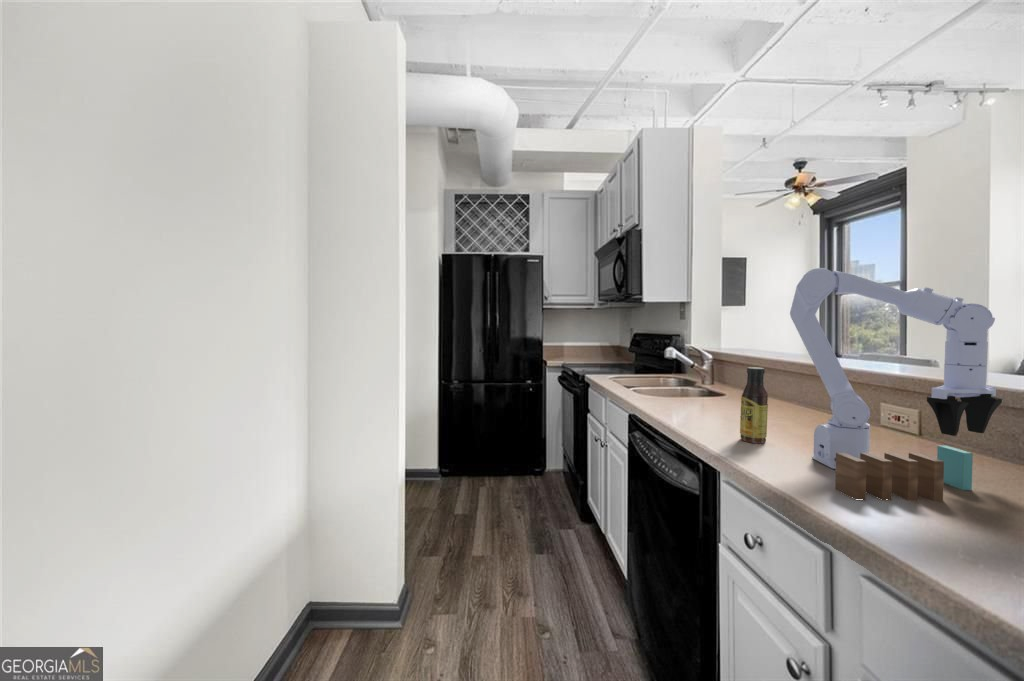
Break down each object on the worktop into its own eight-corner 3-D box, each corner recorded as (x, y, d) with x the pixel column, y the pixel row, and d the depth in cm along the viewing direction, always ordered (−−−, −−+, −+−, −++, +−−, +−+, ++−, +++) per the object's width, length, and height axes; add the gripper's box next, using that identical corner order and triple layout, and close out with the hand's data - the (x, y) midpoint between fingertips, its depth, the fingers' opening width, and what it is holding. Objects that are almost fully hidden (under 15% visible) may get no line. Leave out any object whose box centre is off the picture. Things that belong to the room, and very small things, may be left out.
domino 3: (907, 500, 75) (908, 461, 74) (883, 489, 80) (884, 452, 80) (917, 500, 75) (918, 461, 74) (892, 489, 80) (893, 452, 79)
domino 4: (933, 500, 75) (934, 461, 74) (907, 489, 80) (908, 452, 79) (943, 500, 75) (944, 461, 74) (916, 489, 80) (917, 452, 79)
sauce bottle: (735, 438, 116) (736, 366, 116) (758, 438, 116) (759, 366, 116) (748, 444, 110) (749, 368, 109) (772, 444, 110) (773, 368, 109)
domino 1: (856, 500, 75) (857, 461, 75) (835, 489, 80) (835, 452, 80) (865, 500, 75) (866, 461, 75) (843, 489, 80) (844, 452, 80)
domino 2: (882, 500, 75) (883, 461, 75) (859, 489, 80) (860, 452, 80) (891, 500, 75) (892, 461, 75) (868, 489, 80) (868, 452, 80)
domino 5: (962, 490, 79) (964, 453, 79) (936, 480, 84) (937, 445, 84) (971, 490, 79) (972, 453, 79) (944, 480, 84) (945, 445, 84)
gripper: (965, 367, 77) (962, 441, 78) (1018, 365, 81) (1015, 436, 81) (919, 364, 84) (917, 431, 85) (970, 362, 88) (968, 427, 88)
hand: (962, 433), depth 84 cm, fingers open, 7 cm apart
